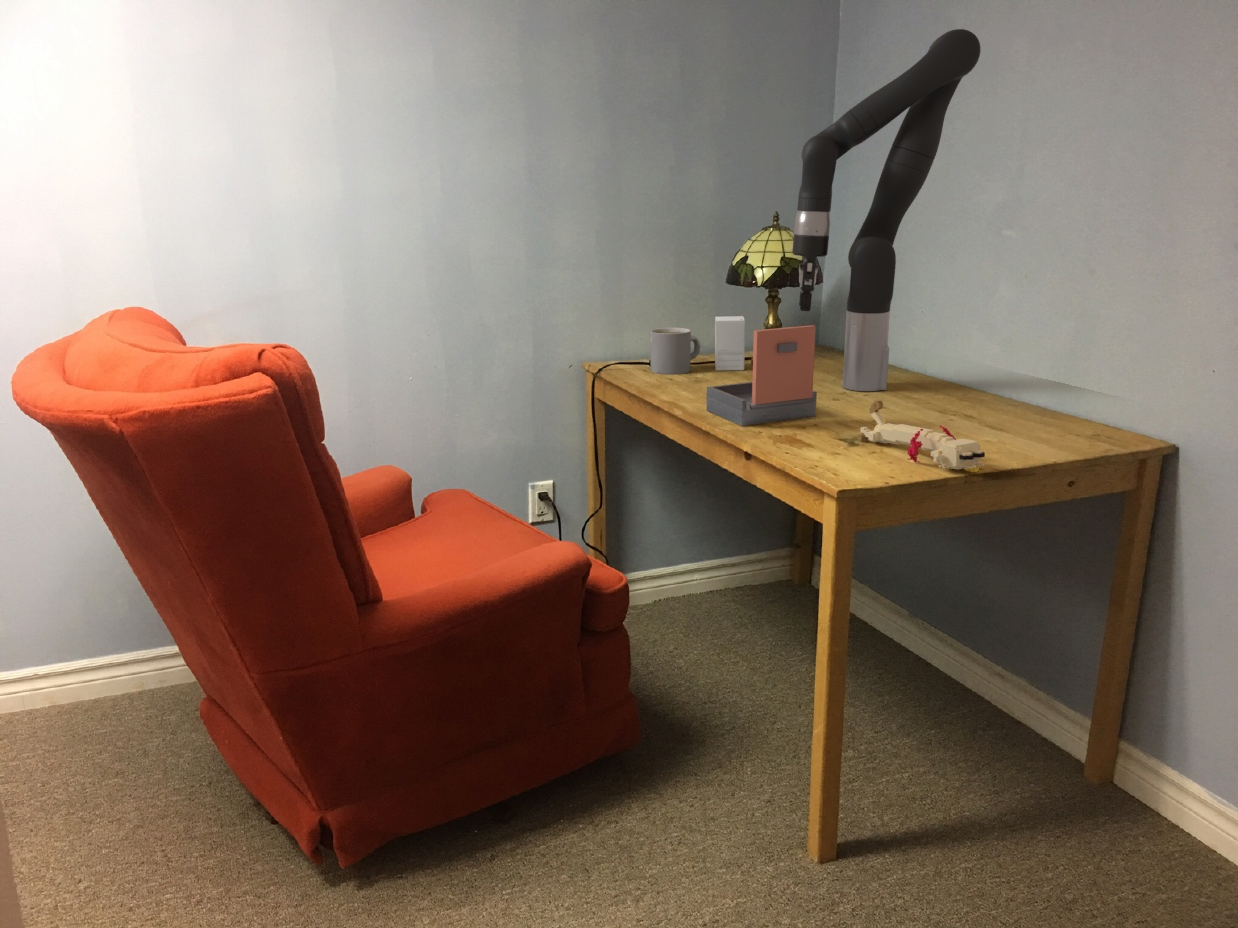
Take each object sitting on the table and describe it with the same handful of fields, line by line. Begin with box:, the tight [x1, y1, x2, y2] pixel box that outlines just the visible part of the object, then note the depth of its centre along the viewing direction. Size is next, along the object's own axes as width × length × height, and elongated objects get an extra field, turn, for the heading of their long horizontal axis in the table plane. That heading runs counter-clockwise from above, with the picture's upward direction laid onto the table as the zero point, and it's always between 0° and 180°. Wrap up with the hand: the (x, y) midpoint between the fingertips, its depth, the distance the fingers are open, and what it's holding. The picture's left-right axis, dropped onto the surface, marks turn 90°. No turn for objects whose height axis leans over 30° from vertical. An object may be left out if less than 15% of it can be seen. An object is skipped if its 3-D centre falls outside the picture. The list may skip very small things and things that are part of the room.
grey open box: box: [706, 381, 818, 427], centre depth 185 cm, size 14×17×5 cm
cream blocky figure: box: [857, 399, 986, 473], centre depth 154 cm, size 10×9×25 cm
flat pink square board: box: [750, 324, 817, 410], centre depth 175 cm, size 2×14×15 cm, turn 114°
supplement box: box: [714, 315, 746, 371], centre depth 229 cm, size 7×7×13 cm
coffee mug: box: [649, 327, 701, 376], centre depth 228 cm, size 13×10×10 cm
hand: (804, 308), depth 202 cm, fingers open, 8 cm apart
